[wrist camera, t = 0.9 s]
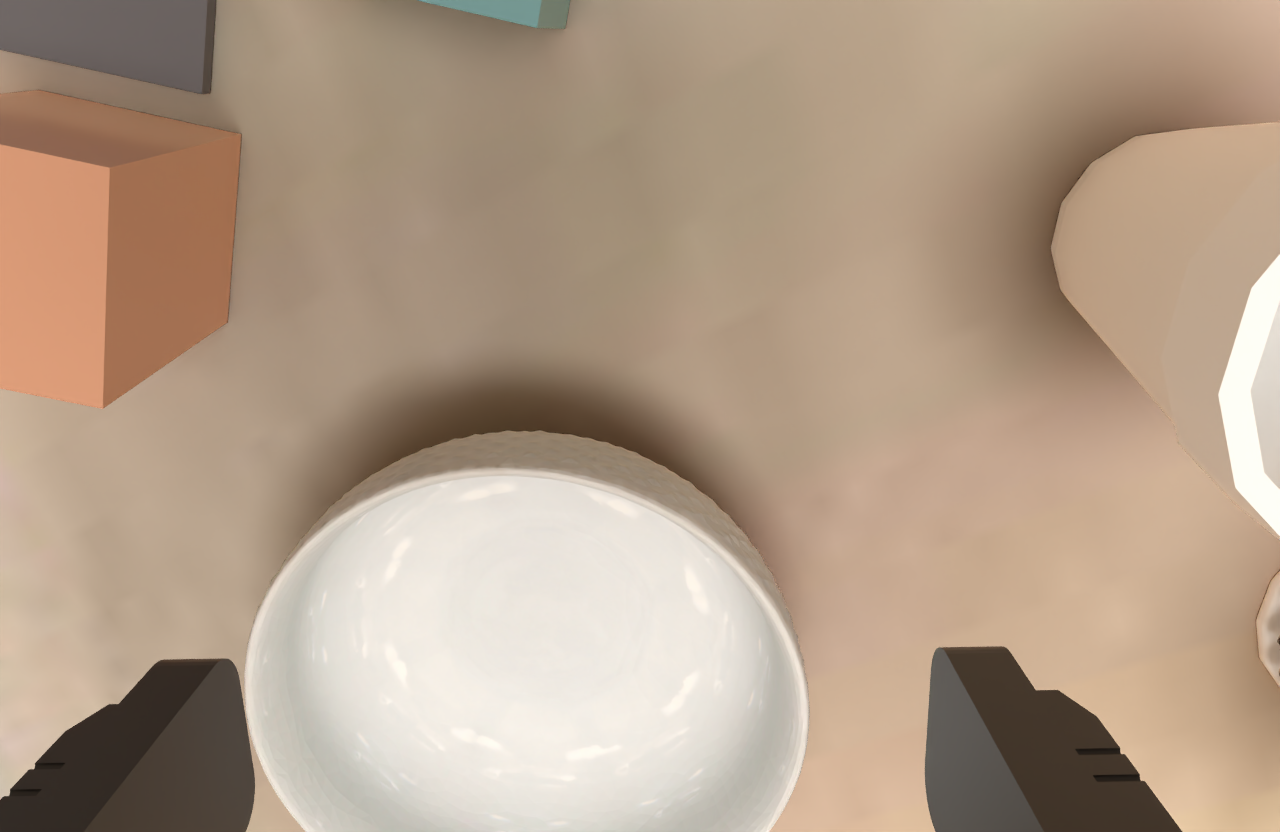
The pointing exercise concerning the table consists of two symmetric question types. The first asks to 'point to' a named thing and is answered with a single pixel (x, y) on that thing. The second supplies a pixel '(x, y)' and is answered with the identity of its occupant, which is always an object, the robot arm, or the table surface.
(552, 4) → the seafoam square box
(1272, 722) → the table surface
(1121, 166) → the foam cup
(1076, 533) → the table surface
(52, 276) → the salmon pink cube
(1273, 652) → the decorative candle
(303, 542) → the cereal bowl
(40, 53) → the charcoal mat
